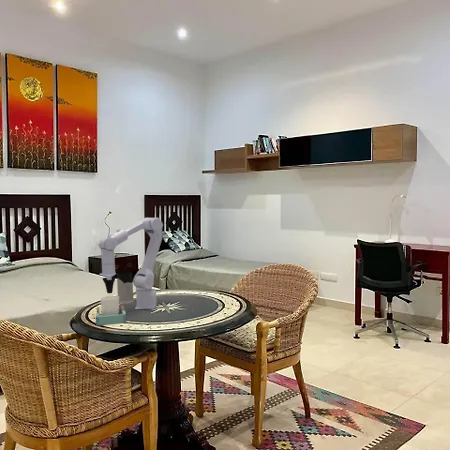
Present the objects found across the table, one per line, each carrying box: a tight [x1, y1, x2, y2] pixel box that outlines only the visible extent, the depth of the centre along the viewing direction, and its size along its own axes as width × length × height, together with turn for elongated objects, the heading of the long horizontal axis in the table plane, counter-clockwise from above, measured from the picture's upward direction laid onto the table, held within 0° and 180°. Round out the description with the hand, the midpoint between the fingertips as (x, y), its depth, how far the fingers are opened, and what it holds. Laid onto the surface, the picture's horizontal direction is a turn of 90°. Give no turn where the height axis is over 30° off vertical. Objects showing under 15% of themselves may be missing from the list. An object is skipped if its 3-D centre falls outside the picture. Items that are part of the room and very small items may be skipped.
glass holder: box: [116, 271, 137, 305], centre depth 232 cm, size 9×14×15 cm, turn 127°
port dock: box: [95, 309, 127, 326], centre depth 193 cm, size 12×8×4 cm, turn 105°
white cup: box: [100, 295, 120, 316], centre depth 195 cm, size 8×8×10 cm
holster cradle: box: [96, 304, 125, 314], centre depth 206 cm, size 12×8×3 cm, turn 105°
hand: (109, 293), depth 204 cm, fingers closed
